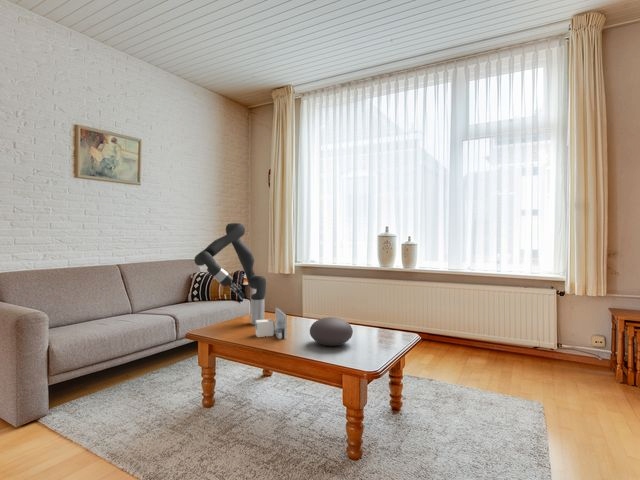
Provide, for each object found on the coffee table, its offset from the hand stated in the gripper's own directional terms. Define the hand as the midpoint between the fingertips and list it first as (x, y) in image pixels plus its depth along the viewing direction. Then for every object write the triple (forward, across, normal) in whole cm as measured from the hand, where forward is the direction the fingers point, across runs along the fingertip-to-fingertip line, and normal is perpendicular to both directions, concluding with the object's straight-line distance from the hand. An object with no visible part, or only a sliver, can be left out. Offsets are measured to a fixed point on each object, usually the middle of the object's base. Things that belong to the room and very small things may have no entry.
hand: (244, 296), depth 218 cm
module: (+26, 0, +8) cm, 27 cm away
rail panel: (+32, 0, +3) cm, 32 cm away
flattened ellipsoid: (+49, -30, -14) cm, 59 cm away
